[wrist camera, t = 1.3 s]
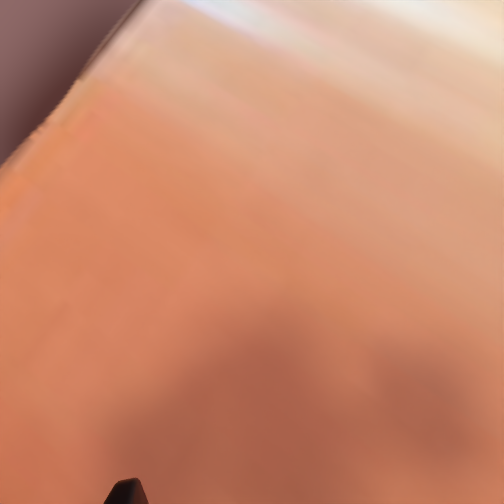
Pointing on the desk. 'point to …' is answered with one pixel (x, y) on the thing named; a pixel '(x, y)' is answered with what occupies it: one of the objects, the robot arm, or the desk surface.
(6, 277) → the desk surface
